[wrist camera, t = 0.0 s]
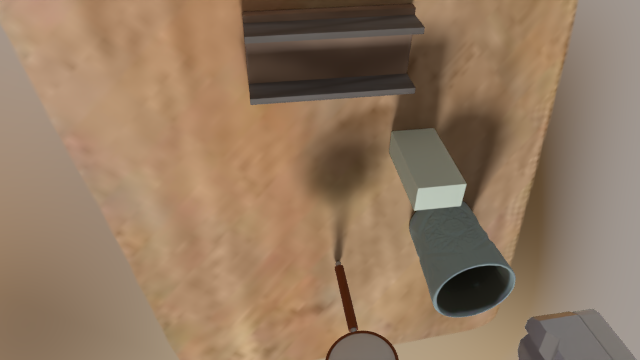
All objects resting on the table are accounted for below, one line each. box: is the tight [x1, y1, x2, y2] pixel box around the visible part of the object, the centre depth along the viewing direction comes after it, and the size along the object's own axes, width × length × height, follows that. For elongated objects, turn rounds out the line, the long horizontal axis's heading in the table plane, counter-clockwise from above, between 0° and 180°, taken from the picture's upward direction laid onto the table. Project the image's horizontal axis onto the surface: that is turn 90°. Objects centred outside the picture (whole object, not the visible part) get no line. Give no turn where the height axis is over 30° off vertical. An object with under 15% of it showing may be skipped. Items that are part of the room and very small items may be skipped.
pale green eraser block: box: [389, 128, 467, 211], centre depth 53 cm, size 3×5×10 cm, turn 89°
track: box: [242, 4, 425, 105], centre depth 47 cm, size 8×16×4 cm, turn 89°
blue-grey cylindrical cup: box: [409, 201, 515, 317], centre depth 62 cm, size 10×10×12 cm
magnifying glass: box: [326, 261, 399, 360], centre depth 61 cm, size 9×2×20 cm, turn 98°
